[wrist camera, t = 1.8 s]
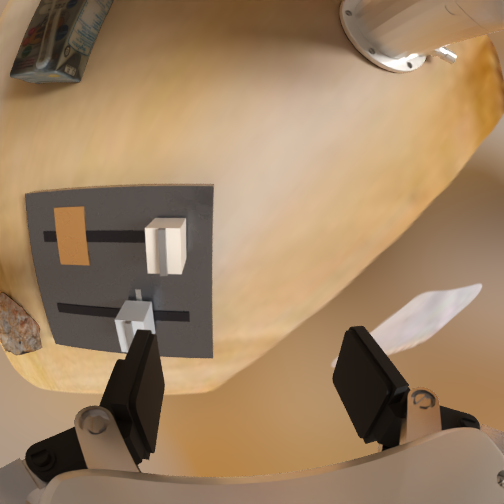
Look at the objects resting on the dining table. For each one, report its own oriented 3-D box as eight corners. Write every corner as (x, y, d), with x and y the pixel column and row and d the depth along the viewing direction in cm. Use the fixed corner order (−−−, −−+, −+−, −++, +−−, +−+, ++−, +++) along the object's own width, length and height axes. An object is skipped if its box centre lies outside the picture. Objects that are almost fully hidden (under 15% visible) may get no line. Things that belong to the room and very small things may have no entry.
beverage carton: (33, 86, 21) (1, 77, 15) (88, -33, 15) (71, -55, 9) (82, 84, 22) (53, 71, 16) (139, -40, 17) (128, -67, 11)
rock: (53, 337, 32) (11, 285, 27) (36, 368, 27) (-12, 315, 22) (28, 338, 34) (-7, 292, 29) (13, 363, 29) (-27, 317, 24)
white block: (151, 301, 28) (142, 324, 24) (155, 332, 30) (147, 357, 25) (125, 300, 28) (113, 322, 24) (130, 330, 29) (120, 354, 25)
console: (213, 184, 28) (213, 186, 26) (213, 348, 34) (212, 359, 32) (34, 191, 25) (24, 194, 23) (61, 335, 31) (55, 344, 29)
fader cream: (186, 217, 26) (179, 229, 22) (186, 258, 27) (180, 276, 23) (155, 217, 26) (143, 229, 21) (157, 257, 27) (146, 275, 23)
